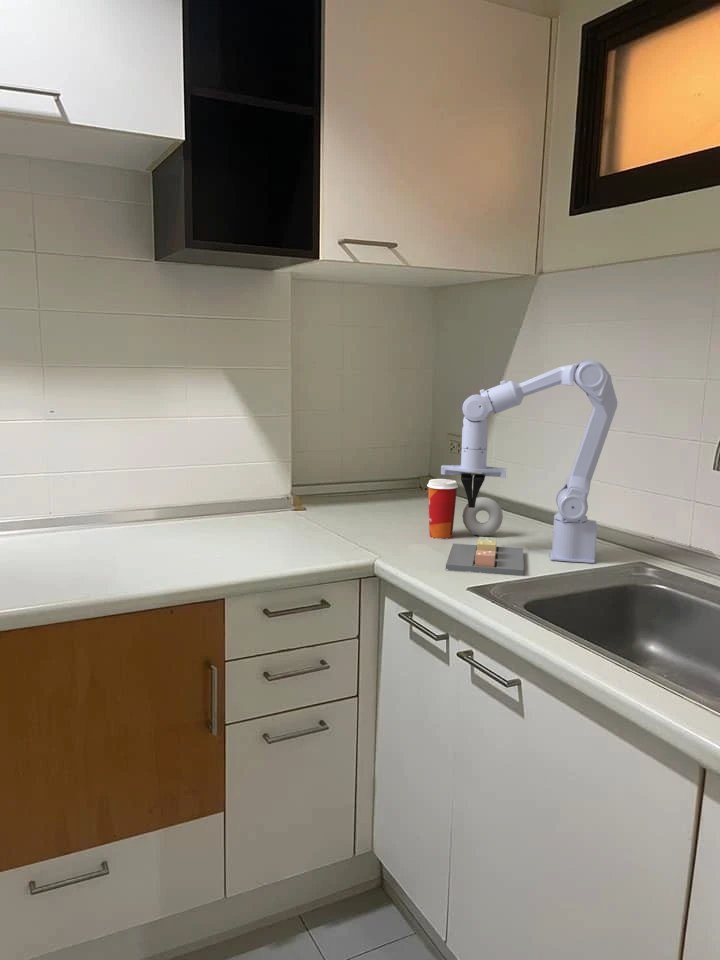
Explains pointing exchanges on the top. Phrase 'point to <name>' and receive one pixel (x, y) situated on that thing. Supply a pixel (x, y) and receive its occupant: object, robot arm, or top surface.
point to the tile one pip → (488, 539)
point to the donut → (488, 526)
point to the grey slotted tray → (506, 564)
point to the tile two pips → (486, 545)
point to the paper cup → (441, 507)
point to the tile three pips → (485, 558)
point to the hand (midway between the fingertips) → (471, 506)
